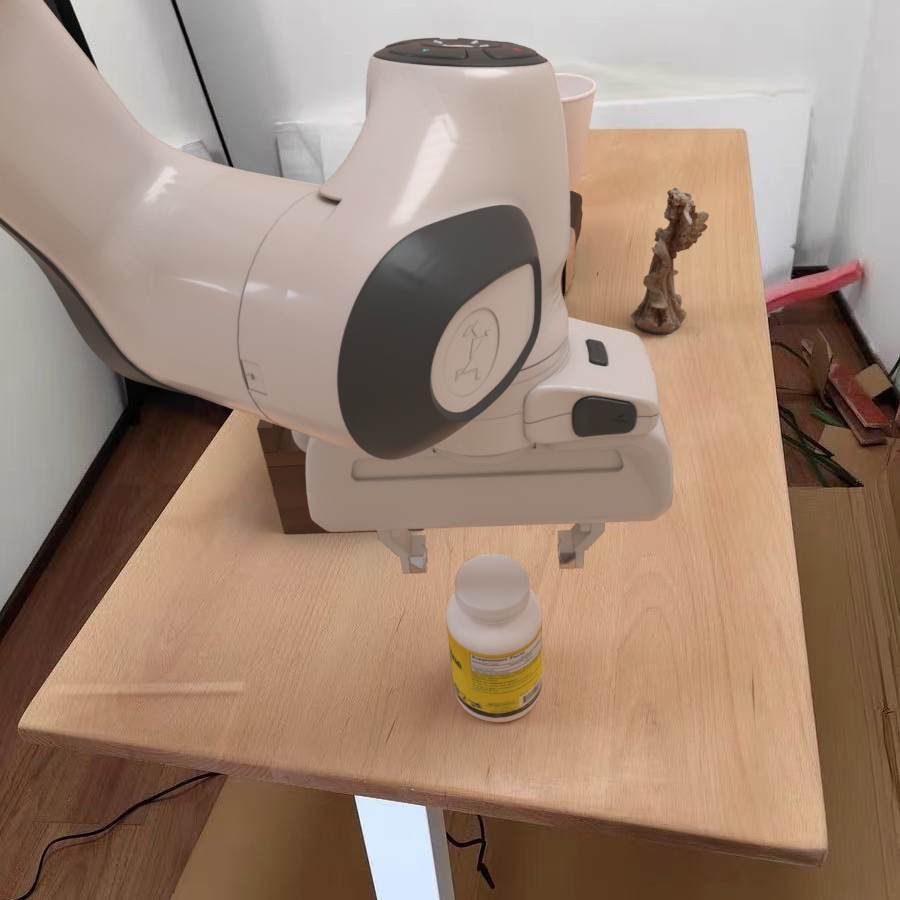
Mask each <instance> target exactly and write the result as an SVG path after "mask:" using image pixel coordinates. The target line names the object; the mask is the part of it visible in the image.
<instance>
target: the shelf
mask: <svg viewBox="0 0 900 900" xmlns="http://www.w3.org/2000/svg"><path fill="white" fill-rule="evenodd" d="M256 431H257V434H258V438H259V442H260V446H261V450H262V453H263V457H264V461H265V465H266V469H267V474H268V477H269V482H270V484H271V485H270V486H271V489H272V492H273V496H274V500H275V503H276V507H277V511H278V515H279V519H280V523H281V526H282V530H283V534H284V535H295V534H298V535H299V534H328V533H329V534H330V533H331V534H333V532H329V531H326V530H325V529H323V528H322V527H321V526H319V525H318V524H317V523H315V522H314V521H313V520H312V519H311V516H310V512H309V506H308V499H307V490H306V452H304V451H303V450H301V449H300V448H299V447H298V446H297V444H296V443H295V441H294V439H293V436H292V432H291V429H288V428H285V427H282V426H279V425H276V424H273V423H271V422H268V421H265V420H262V419H259V421H258V423H257V427H256ZM408 530H409V531H423V530H425V529H408ZM358 532H359V533H361V532H362V533H363V532H364V533H365V532H366V531H347V532H346V533H358ZM373 532H377V530H374V531H373Z"/></svg>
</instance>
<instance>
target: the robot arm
mask: <svg viewBox="0 0 900 900" xmlns="http://www.w3.org/2000/svg"><path fill="white" fill-rule="evenodd" d="M555 73H556V72H555V68H554V66H553V65H552V63H551V62H550V61H549V60H548V59H547V58H545V57H544V56H543V55H541V54H540V53H538V52H537V51H536V50H535V49H533V48H531V47H528V46H525V45H521V44H519V43H515V42H509V41H500V40H489V39H487V40H486V39H474V38H464V37H458V38H440V37H422V38H421V37H420V38H409V39H405V40H400V41H397V42H393V43H390V44H387V45H386V46H384V47H383V48H381V49H379V50H377V51H375V52H374V53H373V54H372V55H370V57H369V60H368V65H367V71H366V84H365V119H364V122H363V125H362V128H361V130H360V132H359V134H358V136H357V138H356V140H355V142H354V144H353V146H352V147H351V148H350V150H349V152H348V154H347V156H346V157H345V159H344V160H343V161H342V163H341V164H340V166H339V167H338V168H337V169H336V170H335V172H334V173H333V174H332V175H331V176H330V177H329V178H328V179H326V181H325V182H323V183H322V184H317V183H313V182H309V181H308V182H307V181H302V180H297V179H291V178H286V177H282V176H281V177H280V176H276V175H270V174H265V173H259V172H254V171H248V170H244V169H240V168H236V167H232V166H229V165H225V164H221V163H218V162H215V161H211V160H209V159H206V158H203V157H199V156H197V155H193V154H190V153H188V152H185V151H183V150H180V149H178V148H176V147H173V146H171V145H169V144H168V143H166V142H164V141H162V140H161V139H159V138H157V137H156V136H154V135H153V134H152V133H150V131H148V130H147V129H146V128H145V127H144V126H143V125H141V123H140V122H139V121H138V120H137V119H136V117H135V116H134V115H133V113H132V112H131V111H130V109H129V108H128V107H127V106H126V104H125V103H124V102H123V101H122V99H121V98H120V97H119V96H118V94H117V93H116V92H115V90H114V89H113V87H111V85H110V84H109V83H108V81H107V80H106V79H105V77H104V76H103V75H102V74H101V73H100V71H99V70H98V69H97V68H96V66H95V65H94V64H93V62H92V61H91V59H90V58H89V57H88V55H86V53H85V52H84V51H83V50H82V48H81V47H80V45H79V44H78V43H77V42H76V41H75V39H74V38H73V37H72V36H71V34H70V33H69V32H68V30H67V29H66V27H64V25H63V24H62V22H61V21H60V20H59V19H58V18H57V16H56V15H55V14H54V13H53V11H52V10H51V9H50V7H49V6H48V5H47V3H46V2H45V1H44V0H0V228H1V229H2V230H3V231H5V233H7V235H9V236H10V237H11V238H12V239H13V240H14V241H15V242H16V243H17V244H18V245H19V246H20V247H21V248H22V249H23V250H24V251H25V252H26V253H27V254H28V255H29V257H31V259H32V260H33V261H34V262H35V263H36V265H37V266H38V267H39V269H40V270H41V272H42V273H43V274H44V276H45V277H46V279H47V280H48V283H49V284H50V285H51V287H52V288H53V290H54V292H55V293H56V295H57V297H58V299H59V301H60V302H61V304H62V306H63V308H64V309H65V312H66V313H67V315H68V317H69V318H70V320H71V322H72V324H73V325H74V327H75V328H76V330H77V332H78V334H79V336H81V338H82V339H83V341H84V342H85V344H86V345H87V346H88V347H89V349H90V350H91V351H92V352H93V353H94V354H95V355H96V357H97V358H98V359H100V361H101V362H103V363H104V365H106V366H107V367H109V368H110V369H111V370H113V371H114V372H115V373H117V374H119V375H121V376H122V377H124V378H127V379H129V380H132V381H133V382H137V383H140V384H145V385H149V386H152V387H157V388H160V389H164V390H169V391H171V392H175V393H179V394H185V395H190V396H195V397H199V398H200V399H203V400H206V401H208V402H212V403H215V404H217V405H220V406H223V407H226V408H228V409H232V410H234V411H237V412H240V413H243V414H245V415H248V416H251V417H254V418H257V419H259V420H260V419H262V420H265V421H268V422H271V423H273V424H276V425H279V426H282V427H285V428H288V429H291V432H292V436H293V439H294V441H295V443H296V444H297V446H298V447H299V448H300V449H301V450H303V451H304V452H306V490H307V499H308V506H309V512H310V516H311V519H312V520H313V521H314V522H315V523H317V524H318V525H319V526H321V527H322V528H323V529H325V530H326V531H329V532H332V533H348V532H347V531H365V532H375V531H374V530H377V531H376V536H377V539H378V540H379V542H381V543H382V544H383V545H384V546H385V547H386V548H388V549H389V551H391V552H392V553H393V554H394V555H395V556H397V557H398V558H399V559H400V564H401V565H400V566H401V571H402V574H403V575H411V574H428V563H429V551H428V550H429V549H428V546H427V545H428V544H427V543H428V542H427V536H426V534H414V535H413V533H412V532H411V530H408V529H424V530H426V529H427V530H429V529H430V530H431V529H432V530H433V529H454V528H455V529H458V528H487V527H488V528H489V527H490V528H491V527H514V526H515V527H516V526H517V527H518V526H544V525H545V526H546V525H573V524H574V525H573V526H572V527H571V528H570V529H562V530H557V559H558V569H559V570H575V569H576V570H577V569H584V567H585V552H586V551H588V550H589V549H590V548H591V546H593V545H594V543H595V542H596V541H597V540H599V538H600V537H601V536H602V535H603V534H604V533H605V530H606V523H629V522H654V521H657V520H658V519H660V518H661V517H662V516H663V515H664V514H666V512H667V511H669V510H670V509H671V507H672V504H673V499H674V465H673V457H672V450H671V446H670V445H671V444H670V441H669V438H668V433H667V430H666V425H665V422H664V418H663V415H662V412H661V409H660V396H659V395H660V393H659V386H658V379H657V377H656V372H655V369H654V366H653V363H652V361H651V357H650V355H649V352H648V349H647V347H646V346H645V344H644V342H643V341H642V339H641V337H640V336H639V335H637V334H636V333H634V332H632V331H628V330H625V329H620V328H616V327H611V326H607V325H603V324H599V323H595V322H591V321H586V320H582V319H578V318H575V317H571V316H569V311H568V308H567V304H566V301H565V299H564V296H563V295H564V294H562V290H561V276H562V271H563V267H564V265H565V262H566V259H567V256H568V251H569V246H570V181H569V162H568V149H567V138H566V129H565V121H564V114H563V107H562V101H561V96H560V91H559V87H558V82H557V78H556V75H555Z"/></svg>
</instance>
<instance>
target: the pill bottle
mask: <svg viewBox="0 0 900 900" xmlns="http://www.w3.org/2000/svg"><path fill="white" fill-rule="evenodd" d="M453 582H454V584H453V585H454V593H453V594H452V595H451V596H450V598H449V601H448V603H447V607H446V612H445V621H446V623H445V624H446V631H447V632H446V633H447V641H448V648H449V649H448V650H449V658H450V667H451V675H452V683H453V690H454V693H455V697H456V699H457V701H458V703H459V704H460V706H461V707H462V708H463V709H464V710H465V711H466V712H467V713H469V714H470V715H472V716H473V717H474V718H477V719H480V720H482V721H486V722H490V723H505V722H512V721H515V720H517V719H520V718H522V717H523V716H525V715H527V714H528V713H529V712H530V711H531V710H532V709H533V708H534V707H535V705H536V704H537V702H539V699H540V696H541V693H542V689H543V611H542V610H543V609H542V605H541V602H540V600H539V598H538V596H537V594H536V593H535V592H534V590H533V589H532V588H531V581H530V576H529V572H528V570H527V569H526V567H525V566H524V565H523V564H522V563H521V562H520V561H519V560H517V559H515V558H514V557H512V556H509V555H506V554H502V553H485V554H479V555H478V556H477V555H476V556H474V557H472V558H470V559H468V560H467V561H465V562H464V563H463V564H462V565H461V566H460V568H458V570H457V572H456V574H455V577H454V581H453Z"/></svg>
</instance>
